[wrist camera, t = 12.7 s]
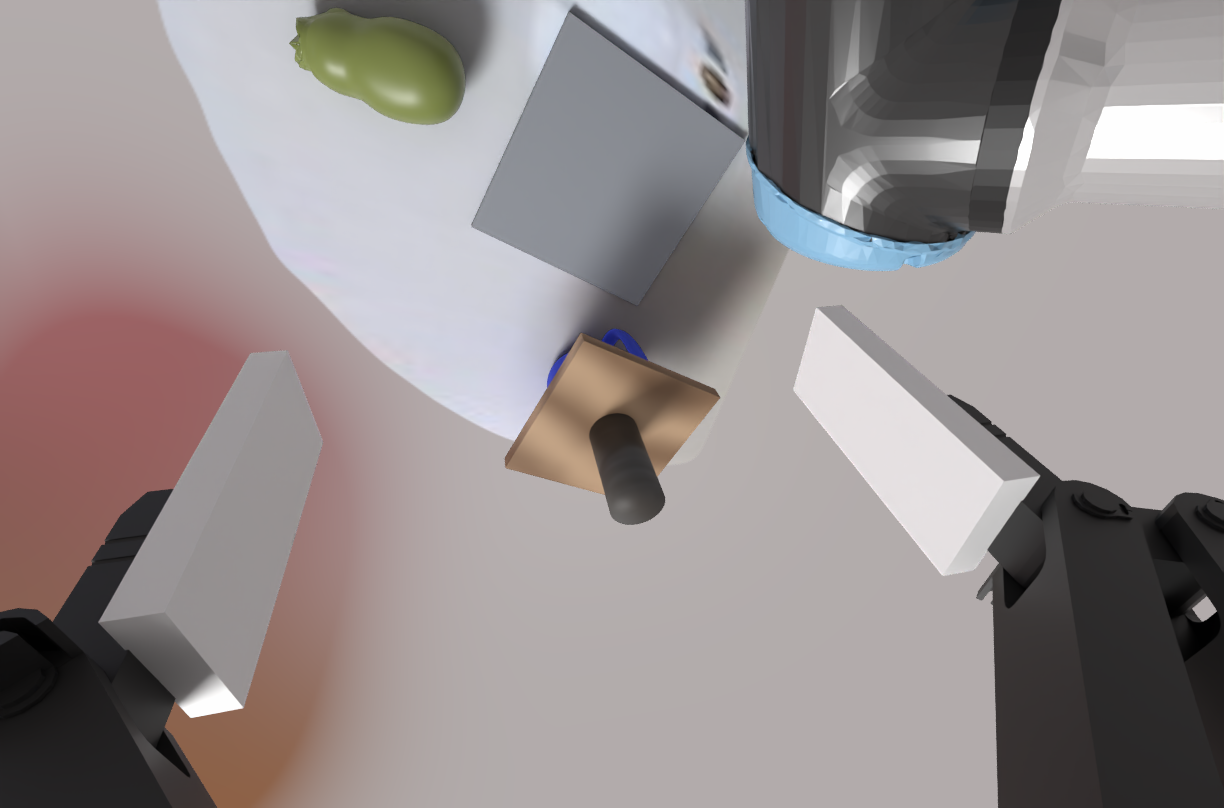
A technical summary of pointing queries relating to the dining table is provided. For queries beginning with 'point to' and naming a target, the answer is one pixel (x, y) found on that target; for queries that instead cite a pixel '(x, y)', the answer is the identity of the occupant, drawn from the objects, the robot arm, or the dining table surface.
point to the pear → (383, 64)
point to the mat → (604, 167)
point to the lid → (611, 427)
